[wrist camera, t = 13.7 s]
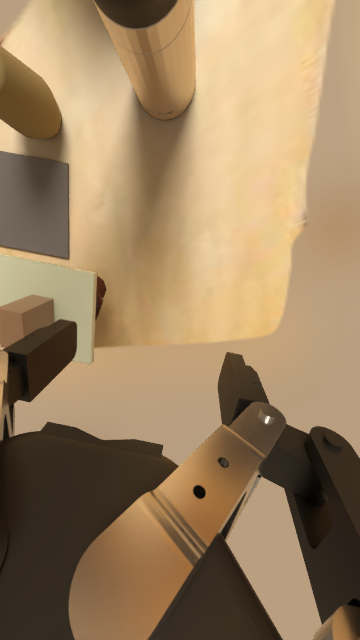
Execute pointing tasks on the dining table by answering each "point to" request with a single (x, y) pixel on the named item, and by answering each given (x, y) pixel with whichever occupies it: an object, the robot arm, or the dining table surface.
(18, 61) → the squeeze bottle
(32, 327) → the cover
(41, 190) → the mat
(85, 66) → the dining table surface
